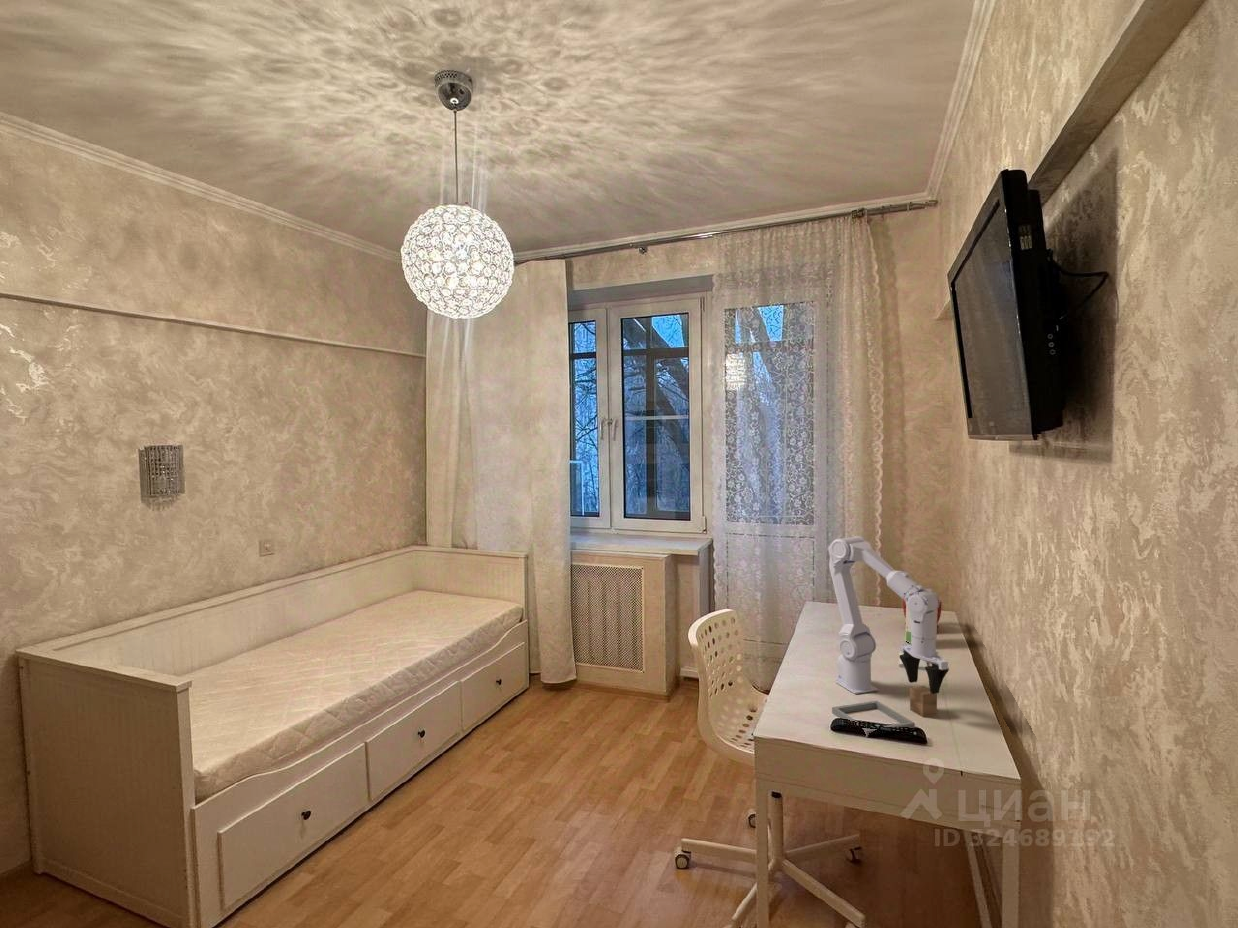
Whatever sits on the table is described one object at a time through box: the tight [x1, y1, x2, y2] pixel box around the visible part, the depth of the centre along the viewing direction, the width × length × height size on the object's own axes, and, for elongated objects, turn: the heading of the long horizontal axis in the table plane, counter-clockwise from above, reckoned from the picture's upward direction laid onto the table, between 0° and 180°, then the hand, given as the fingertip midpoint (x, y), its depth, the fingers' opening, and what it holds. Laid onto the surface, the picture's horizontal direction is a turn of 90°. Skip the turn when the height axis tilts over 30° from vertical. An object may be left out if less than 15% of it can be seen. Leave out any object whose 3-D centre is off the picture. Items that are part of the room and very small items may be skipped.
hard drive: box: [898, 651, 928, 671], centre depth 195 cm, size 2×8×12 cm
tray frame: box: [831, 700, 916, 738], centre depth 155 cm, size 14×14×2 cm
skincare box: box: [904, 606, 938, 647], centre depth 212 cm, size 8×7×16 cm
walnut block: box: [909, 685, 938, 718], centre depth 159 cm, size 4×4×6 cm
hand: (923, 687), depth 159 cm, fingers open, 7 cm apart
